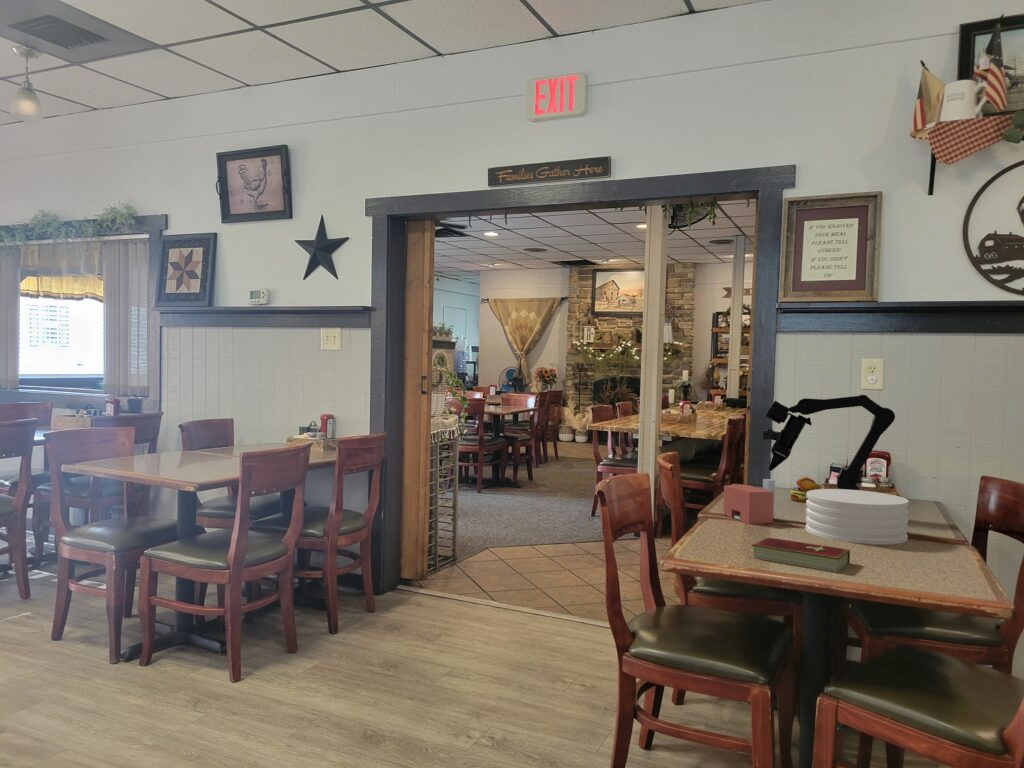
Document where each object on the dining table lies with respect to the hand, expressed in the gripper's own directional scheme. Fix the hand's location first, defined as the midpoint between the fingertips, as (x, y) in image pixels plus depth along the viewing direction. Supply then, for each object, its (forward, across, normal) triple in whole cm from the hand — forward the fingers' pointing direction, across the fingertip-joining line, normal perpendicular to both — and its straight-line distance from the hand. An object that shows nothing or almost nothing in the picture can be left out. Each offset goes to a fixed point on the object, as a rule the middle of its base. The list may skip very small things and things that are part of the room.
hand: (770, 468), depth 266 cm
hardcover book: (+8, +78, +16) cm, 80 cm away
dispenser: (+15, +27, +1) cm, 31 cm away
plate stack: (+2, +34, +30) cm, 46 cm away
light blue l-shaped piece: (+14, +25, +3) cm, 29 cm away
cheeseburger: (+8, -21, +17) cm, 28 cm away
